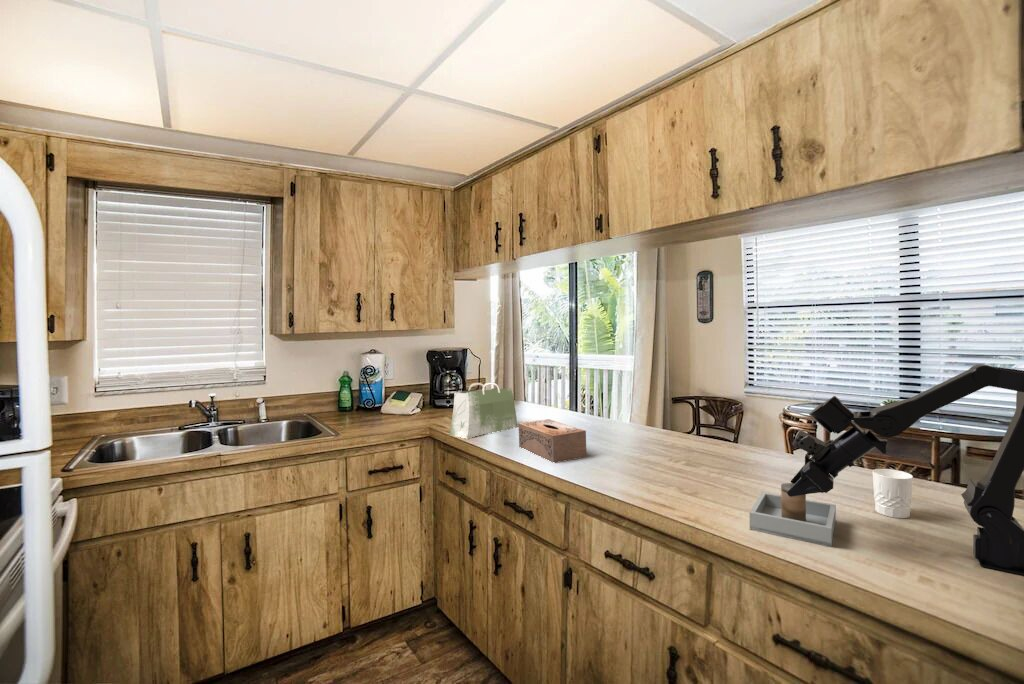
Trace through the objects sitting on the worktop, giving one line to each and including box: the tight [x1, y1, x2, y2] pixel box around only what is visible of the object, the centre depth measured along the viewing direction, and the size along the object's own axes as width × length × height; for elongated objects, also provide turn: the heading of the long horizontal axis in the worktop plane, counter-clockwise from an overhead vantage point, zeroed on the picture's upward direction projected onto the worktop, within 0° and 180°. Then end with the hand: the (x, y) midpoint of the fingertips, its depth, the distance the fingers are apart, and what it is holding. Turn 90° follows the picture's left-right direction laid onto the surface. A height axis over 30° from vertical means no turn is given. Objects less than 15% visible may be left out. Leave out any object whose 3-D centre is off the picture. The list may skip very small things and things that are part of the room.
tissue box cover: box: [517, 418, 587, 463], centre depth 184 cm, size 26×14×10 cm, turn 28°
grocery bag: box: [448, 382, 519, 440], centre depth 223 cm, size 32×14×23 cm, turn 135°
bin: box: [748, 491, 837, 548], centre depth 113 cm, size 16×16×4 cm
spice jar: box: [780, 482, 807, 522], centre depth 113 cm, size 5×5×8 cm
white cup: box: [872, 468, 914, 519], centre depth 118 cm, size 8×8×10 cm
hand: (790, 488), depth 113 cm, fingers open, 9 cm apart
